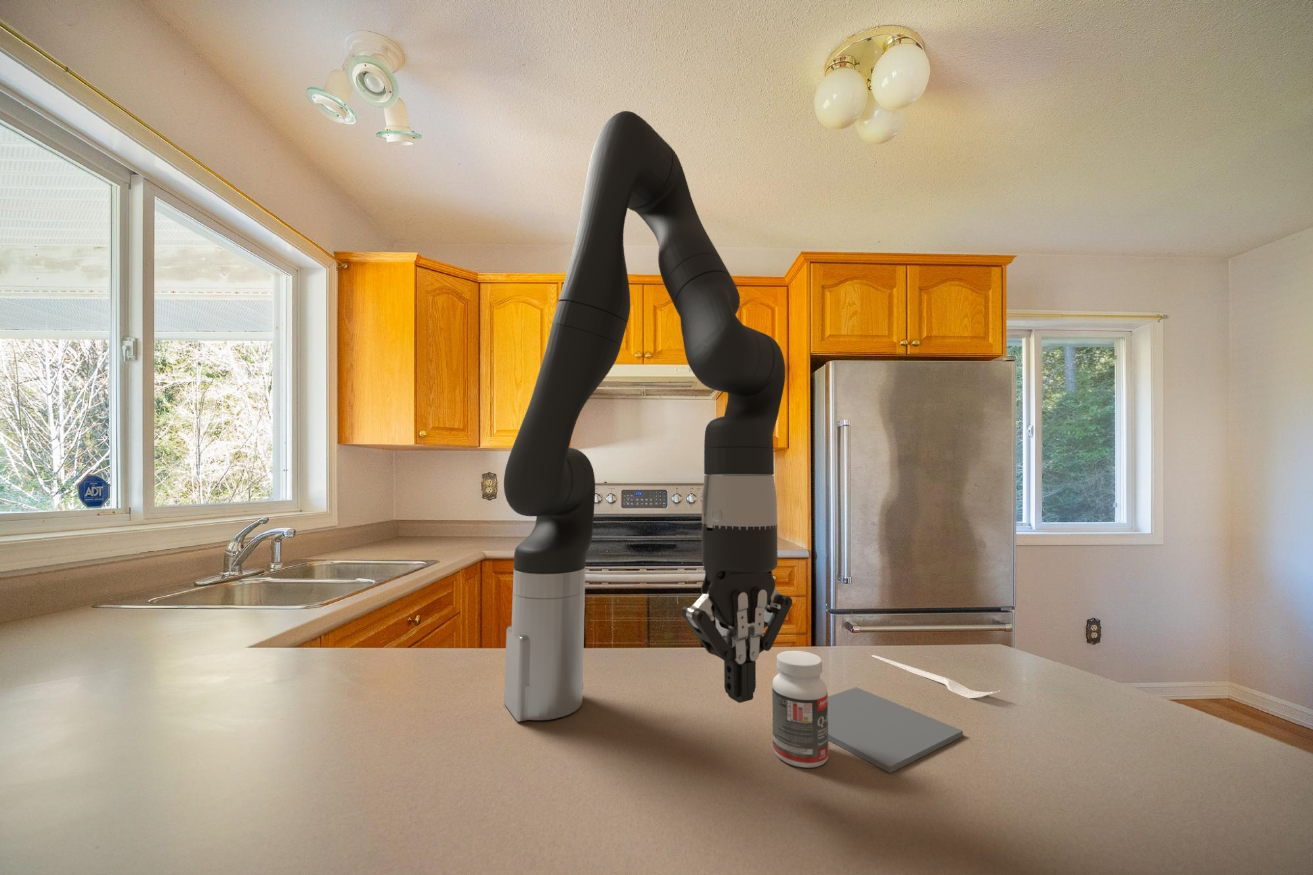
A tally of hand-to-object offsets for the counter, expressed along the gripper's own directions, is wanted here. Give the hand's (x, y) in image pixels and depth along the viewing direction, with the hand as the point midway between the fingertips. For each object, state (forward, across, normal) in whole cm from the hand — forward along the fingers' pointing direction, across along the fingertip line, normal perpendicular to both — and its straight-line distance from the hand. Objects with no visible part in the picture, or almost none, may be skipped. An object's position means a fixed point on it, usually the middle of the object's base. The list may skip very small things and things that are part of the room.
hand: (739, 698), depth 49 cm
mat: (+8, -20, 0) cm, 22 cm away
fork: (+8, -41, -5) cm, 42 cm away
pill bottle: (+8, -8, 0) cm, 12 cm away
